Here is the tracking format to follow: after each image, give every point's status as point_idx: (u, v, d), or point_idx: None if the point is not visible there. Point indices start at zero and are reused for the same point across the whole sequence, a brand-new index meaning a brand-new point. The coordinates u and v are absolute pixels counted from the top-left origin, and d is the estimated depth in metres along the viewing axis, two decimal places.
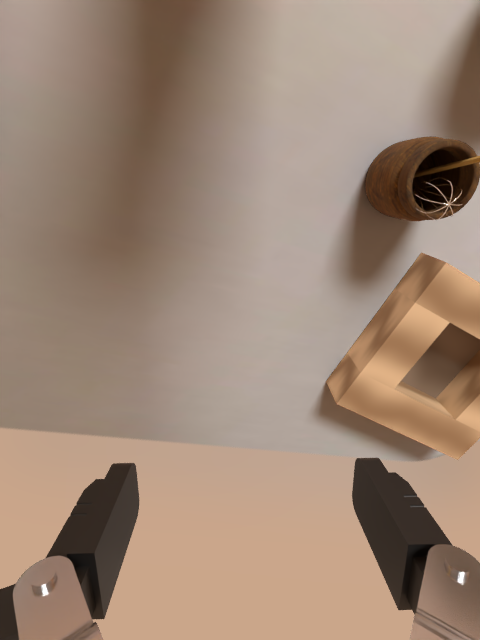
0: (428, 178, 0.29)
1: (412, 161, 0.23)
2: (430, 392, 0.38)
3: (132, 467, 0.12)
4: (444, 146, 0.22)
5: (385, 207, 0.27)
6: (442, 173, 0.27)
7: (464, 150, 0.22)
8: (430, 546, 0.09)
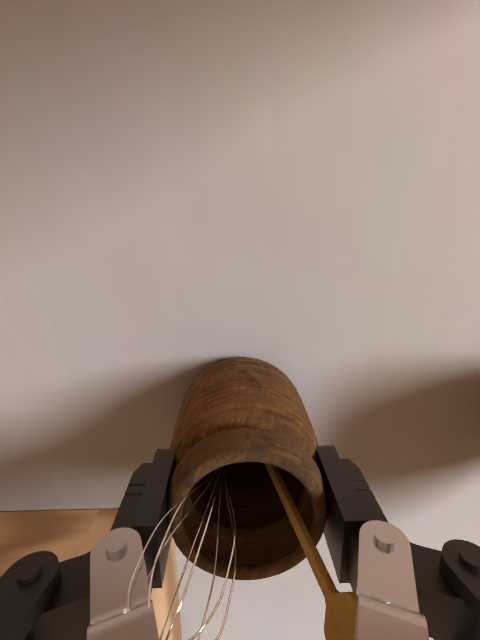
0: None
1: (247, 443, 0.10)
2: None
3: None
4: (302, 481, 0.10)
5: (174, 431, 0.14)
6: (280, 469, 0.16)
7: (315, 516, 0.11)
8: (365, 522, 0.09)
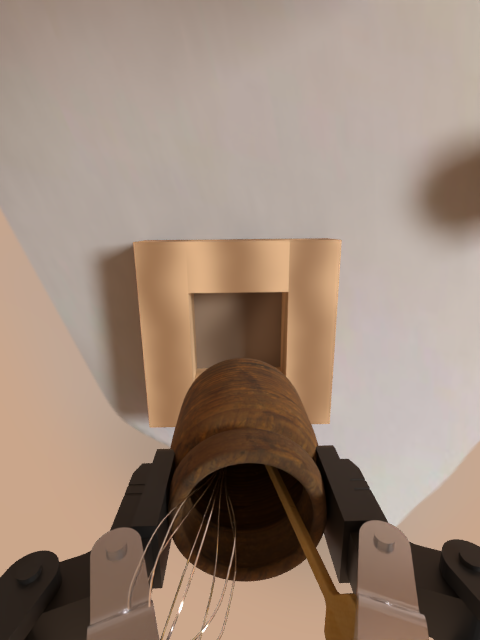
0: None
1: (248, 444, 0.10)
2: (200, 358, 0.32)
3: None
4: (302, 482, 0.10)
5: (174, 432, 0.14)
6: (280, 470, 0.16)
7: (315, 517, 0.11)
8: (365, 522, 0.09)
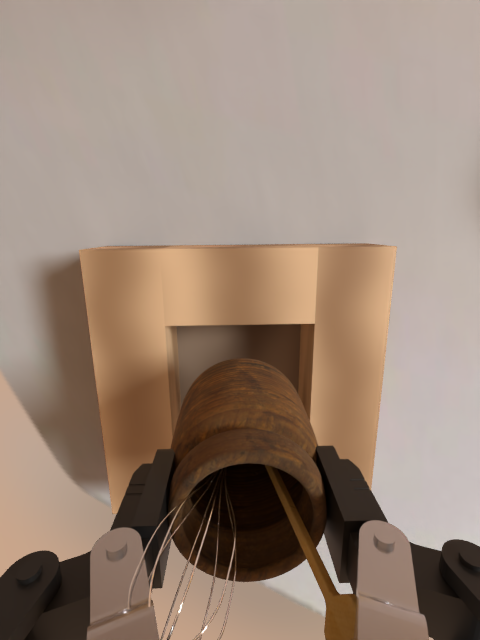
0: None
1: (247, 445, 0.10)
2: None
3: None
4: (302, 483, 0.10)
5: (174, 432, 0.14)
6: (280, 470, 0.16)
7: (315, 518, 0.11)
8: (365, 522, 0.09)
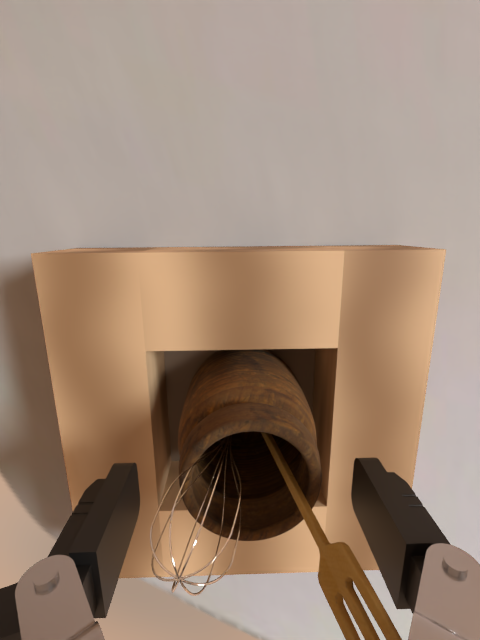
0: None
1: (251, 415, 0.12)
2: (176, 444, 0.19)
3: (133, 466, 0.12)
4: (299, 450, 0.12)
5: (183, 410, 0.15)
6: (279, 449, 0.17)
7: (311, 482, 0.12)
8: (428, 545, 0.09)
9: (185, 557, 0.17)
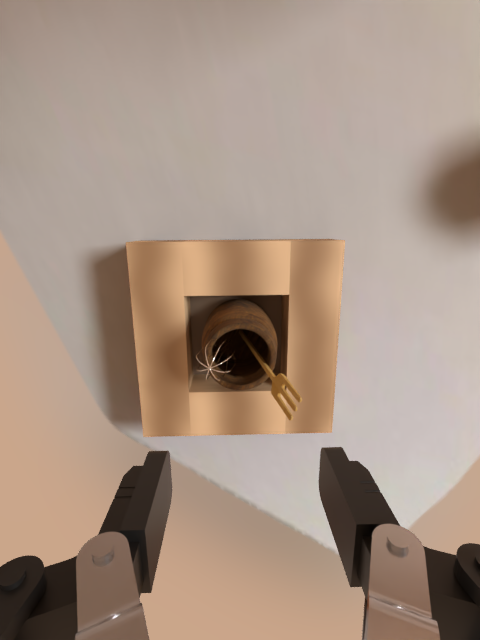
0: (253, 353, 0.31)
1: (240, 321, 0.23)
2: (196, 363, 0.31)
3: (167, 454, 0.12)
4: (264, 339, 0.23)
5: None
6: None
7: (270, 357, 0.24)
8: (377, 526, 0.09)
9: (203, 423, 0.29)
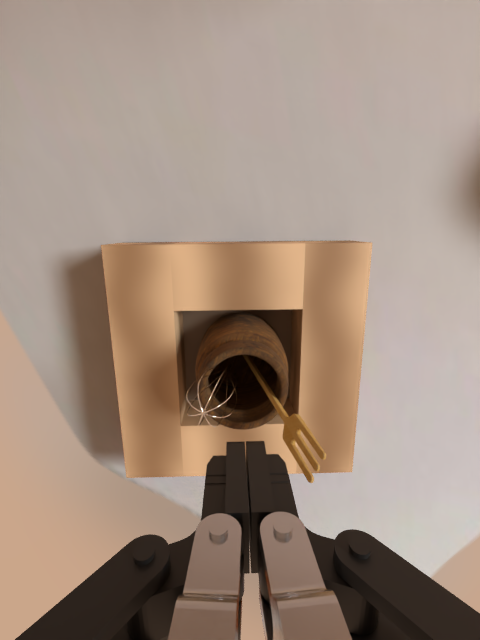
0: None
1: (243, 345, 0.18)
2: None
3: (244, 445, 0.13)
4: (273, 367, 0.19)
5: (198, 352, 0.22)
6: None
7: (281, 389, 0.19)
8: (271, 513, 0.10)
9: (198, 461, 0.24)
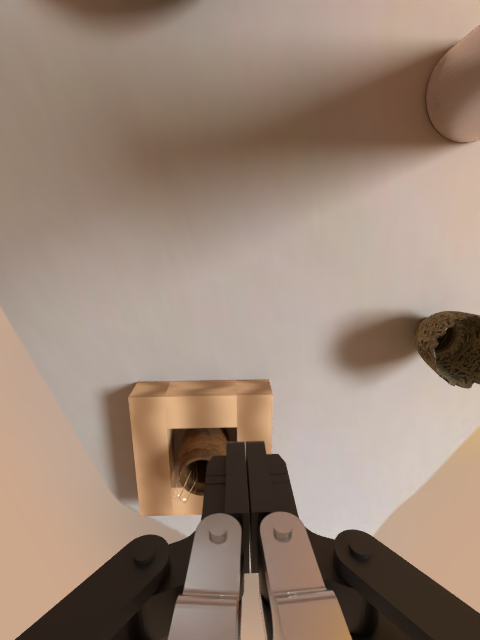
0: None
1: (202, 454, 0.36)
2: (177, 460, 0.44)
3: (244, 445, 0.13)
4: None
5: (180, 449, 0.40)
6: None
7: None
8: (271, 514, 0.10)
9: (181, 507, 0.42)
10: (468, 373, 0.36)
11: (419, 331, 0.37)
